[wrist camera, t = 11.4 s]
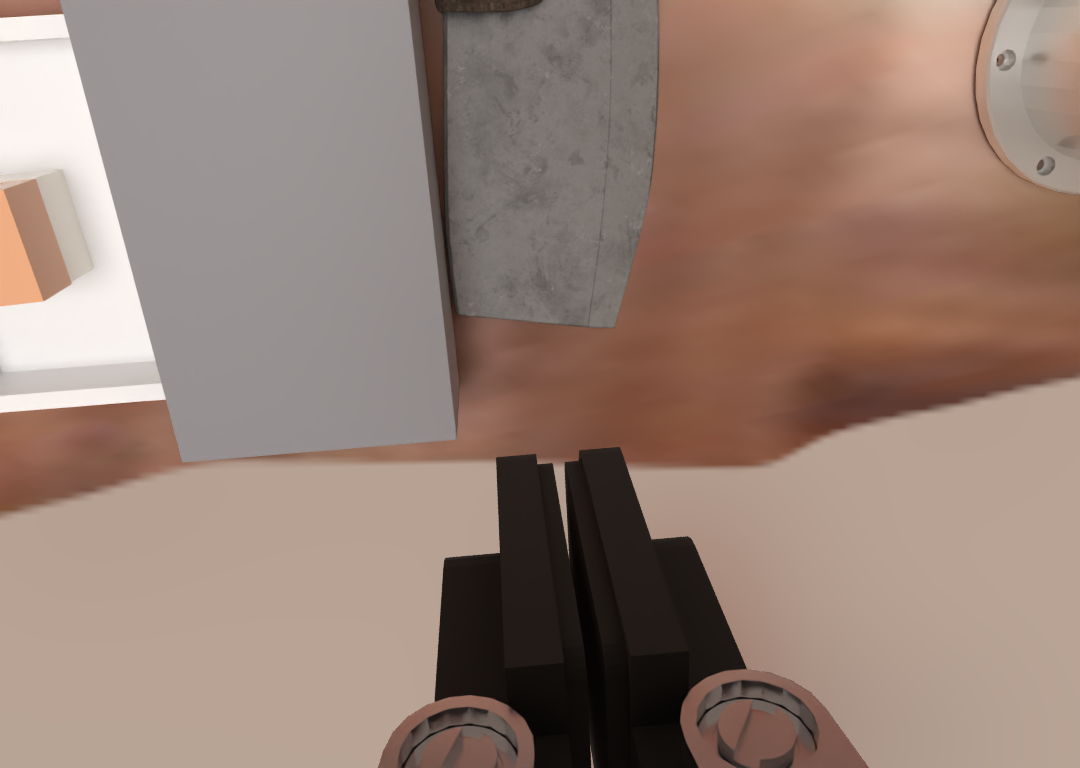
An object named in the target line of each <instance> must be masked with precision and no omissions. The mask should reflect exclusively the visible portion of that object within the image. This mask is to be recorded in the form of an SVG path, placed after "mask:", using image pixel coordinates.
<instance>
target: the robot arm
mask: <svg viewBox="0 0 1080 768" xmlns="http://www.w3.org/2000/svg"><path fill="white" fill-rule="evenodd" d="M998 56H999V60H998V63H997V64H996V60H997V57H998ZM976 100H977V106H978V112H979V117H980V122H981V124H982V127H983V129H984V132H985V134H986V137H987V139H988V141H989V143H990V145H991V146H992V148H993V149H994V151H995V152H996V153H997V155H998V156H999V158H1000V159H1001V161H1002V162H1003V163H1004V164H1006V165H1007V166H1008V167H1009V168H1010V169H1011V170H1012V171H1014V172H1015V173H1016V174H1017V175H1018V176H1020V177H1022V178H1024V179H1026V180H1028V181H1030V182H1031V183H1033V184H1035V185H1037V186H1040V187H1044V188H1048V189H1051V190H1054V191H1057V192H1062V193H1070V194H1077V195H1080V0H997V2H996V4H995V5H994V7H993V9H992V11H991V14H990V17H989V20H988V23H987V25H986V28H985V31H984V34H983V36H982V39H981V45H980V50H979V55H978V60H977V66H976ZM496 466H497V488H498V489H497V490H498V514H499V540H500V553H496V554H484V555H473V556H461V557H450V558H445V560H444V568H443V582H442V598H441V612H440V628H439V644H438V658H437V673H436V689H435V702H434V703H431V704H428V705H426V706H424V707H422V708H421V709H419V710H418V711H416V712H414V713H413V714H411V715H410V716H408V717H407V718H406V719H405V720H404V721H403V722H402V723H401V724H400V725H399V726H398V727H397V728H396V730H395V731H394V732H393V733H392V735H391V737H390V739H389V741H388V743H387V744H386V746H385V748H384V750H383V753H382V757H381V759H380V763H379V766H378V768H591V752H592V757H593V764H594V768H869V767H868V766H867V764H866V763H865V761H864V760H863V759H862V757H861V756H860V755H859V753H858V752H857V750H856V749H855V748H854V746H853V745H852V744H851V742H850V741H849V739H848V738H847V737H846V735H845V734H844V732H843V731H842V730H841V728H840V727H839V726H838V724H837V723H836V721H835V720H834V719H833V717H832V716H831V714H830V713H829V712H828V710H827V709H826V708H825V706H823V704H822V703H821V702H820V701H819V700H818V699H817V698H816V697H815V696H814V695H813V694H812V693H811V692H810V691H808V690H807V689H805V688H803V687H802V686H800V685H798V684H797V683H795V682H794V681H792V680H790V679H787V678H785V677H782V676H779V675H776V674H773V673H771V672H765V671H758V670H750V669H747V668H746V666H745V663H744V661H743V659H742V656H741V654H740V652H739V649H738V647H737V644H736V642H735V640H734V637H733V635H732V633H731V630H730V628H729V625H728V623H727V621H726V618H725V616H724V614H723V611H722V609H721V606H720V604H719V602H718V599H717V597H716V595H715V592H714V590H713V587H712V585H711V583H710V580H709V578H708V576H707V573H706V571H705V568H704V566H703V564H702V561H701V559H700V557H699V554H698V552H697V550H696V547H695V545H694V543H693V541H692V539H691V538H689V537H688V536H687V537H676V538H664V539H653V540H651V537H650V534H649V531H648V528H647V525H646V522H645V519H644V516H643V513H642V510H641V507H640V504H639V501H638V499H637V496H636V493H635V490H634V487H633V484H632V481H631V478H630V475H629V472H628V469H627V466H626V463H625V460H624V457H623V454H622V451H621V449H620V447H614V448H602V449H590V450H580V451H579V461H573V462H565V484H566V504H567V523H568V542H569V556H568V550H567V545H566V539H565V533H564V527H563V521H562V516H561V509H560V504H559V498H558V492H557V486H556V481H555V475H554V469H553V463H549V464H537V458H536V454H531V455H519V456H507V457H496ZM590 745H591V752H590Z"/></svg>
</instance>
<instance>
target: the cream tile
mask: <svg viewBox="0 0 1080 768" xmlns="http://www.w3.org/2000/svg"><path fill="white" fill-rule="evenodd" d="M28 179H36V181H37V184H38V187H39V190H40V193H41V195H42V198H43V201H44V204H45V207H46V210H47V213H48V216H49V219H50V222H51V224H52V227H53V230H54V233H55V236H56V239H57V242H58V245H59V248H60V251H61V253H62V256H63V259H64V262H65V265H66V268H67V271H68V274H69V277H70V280H71V282H72V281H74V280H76V279H77V278H79V277H80V276H82V275H84V274H85V273H87V272H89V271H90V270H92V269H94V268H93V264H92V261H91V258H90V255H89V252H88V249H87V246H86V242H85V239H84V236H83V233H82V230H81V227H80V224H79V220H78V217H77V214H76V211H75V208H74V205H73V202H72V198H71V195H70V192H69V189H68V186H67V183H66V179H65V176H64V173H63V170H62V169H56V170H46V171H36V172H26V173H16V174H6V175H0V183H2V182H11V181H20V180H28Z"/></svg>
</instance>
